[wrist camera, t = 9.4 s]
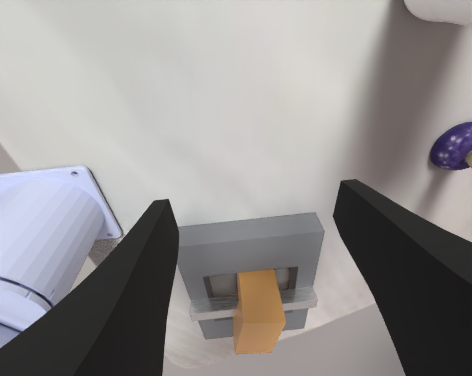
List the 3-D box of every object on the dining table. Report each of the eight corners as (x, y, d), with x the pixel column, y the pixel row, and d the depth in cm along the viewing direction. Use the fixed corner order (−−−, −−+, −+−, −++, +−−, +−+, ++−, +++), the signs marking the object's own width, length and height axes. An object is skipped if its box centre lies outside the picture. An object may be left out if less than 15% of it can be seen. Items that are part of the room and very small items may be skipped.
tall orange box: (231, 299, 31) (234, 353, 26) (238, 266, 27) (243, 323, 22) (262, 299, 31) (270, 352, 26) (273, 266, 27) (286, 322, 22)
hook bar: (193, 307, 28) (192, 321, 27) (190, 300, 27) (189, 314, 26) (311, 293, 28) (315, 307, 27) (312, 286, 28) (317, 299, 26)
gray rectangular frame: (205, 320, 36) (205, 339, 34) (174, 227, 24) (171, 247, 22) (299, 310, 36) (304, 328, 34) (315, 212, 24) (324, 231, 22)
